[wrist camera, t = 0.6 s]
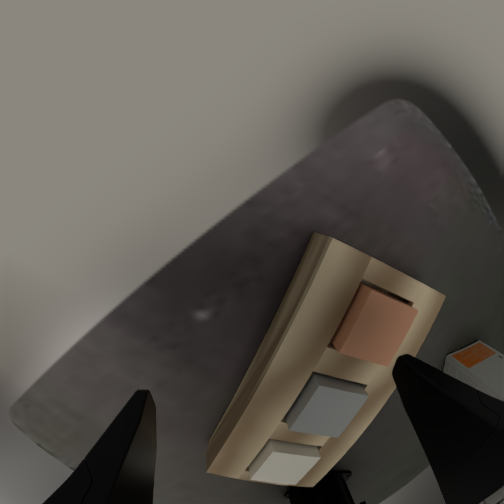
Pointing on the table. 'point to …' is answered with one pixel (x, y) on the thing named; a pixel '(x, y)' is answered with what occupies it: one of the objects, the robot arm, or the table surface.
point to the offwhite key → (283, 462)
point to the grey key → (325, 405)
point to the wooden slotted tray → (315, 358)
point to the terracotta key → (373, 326)
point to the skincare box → (478, 368)
